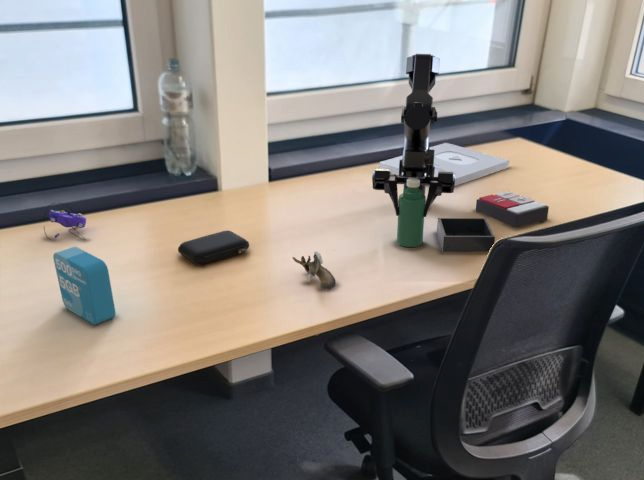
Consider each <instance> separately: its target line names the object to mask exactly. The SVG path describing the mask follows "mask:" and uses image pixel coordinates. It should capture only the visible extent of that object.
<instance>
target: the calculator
mask: <svg viewBox="0 0 644 480" xmlns="http://www.w3.org/2000/svg"><path fill="white" fill-rule="evenodd" d="M475 201H476V202H475V211H476V212H477V213H481V214H484V215H486V216H488V217H491V218H494V219H497V220H499V221H501V222H503V223H504V224H506V225H508V226H509V227H510V226H511V227H512V228H515V229H518V228H522V227H527V226H529V225H534V224H537V223H542V222H544V221H548V218H549V217H548V216H549V210H550V209H549V208H550V206H549V205H547V204H545V203H542V202H539V201H535V199H533V198H529V197H527V196H524V195H520V194H518V193H515V192H513V191H510V190H505V191H500V192H497V193H494V194H489V195H484V196H480V197H478V198H477V199H476V200H475Z"/></svg>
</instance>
